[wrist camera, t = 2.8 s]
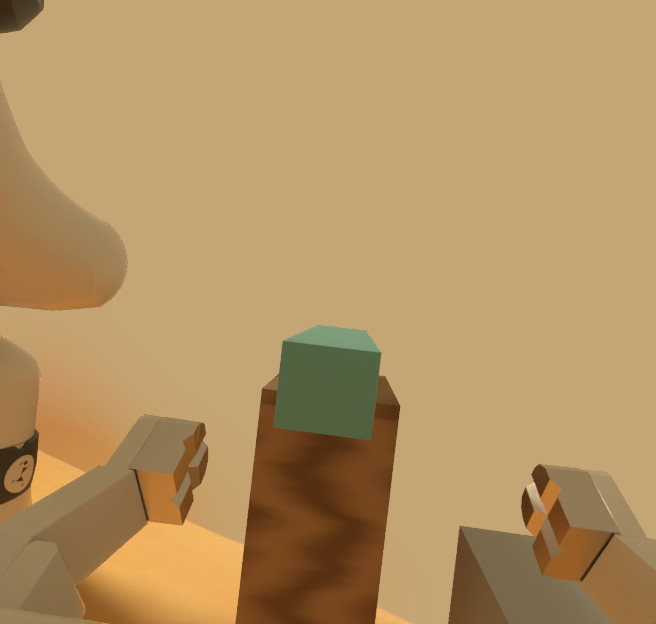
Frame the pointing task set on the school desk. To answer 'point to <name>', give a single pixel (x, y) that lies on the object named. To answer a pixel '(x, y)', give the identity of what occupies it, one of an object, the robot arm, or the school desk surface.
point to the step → (512, 585)
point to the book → (328, 382)
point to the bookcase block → (317, 520)
